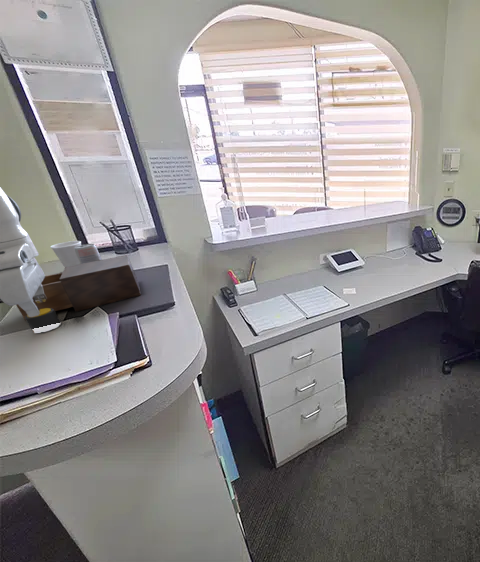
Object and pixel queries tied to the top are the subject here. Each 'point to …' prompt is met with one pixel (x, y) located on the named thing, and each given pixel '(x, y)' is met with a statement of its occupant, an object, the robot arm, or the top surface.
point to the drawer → (51, 295)
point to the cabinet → (100, 282)
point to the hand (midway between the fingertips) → (39, 308)
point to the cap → (43, 318)
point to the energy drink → (87, 253)
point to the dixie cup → (67, 252)
